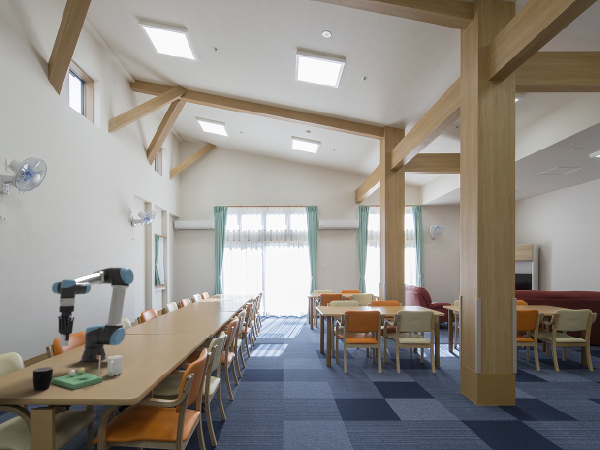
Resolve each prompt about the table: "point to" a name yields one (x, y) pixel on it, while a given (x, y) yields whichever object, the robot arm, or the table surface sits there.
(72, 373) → the ball
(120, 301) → the robot arm
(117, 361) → the cup
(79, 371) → the yellow ball
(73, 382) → the green
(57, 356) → the table surface
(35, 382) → the mug
